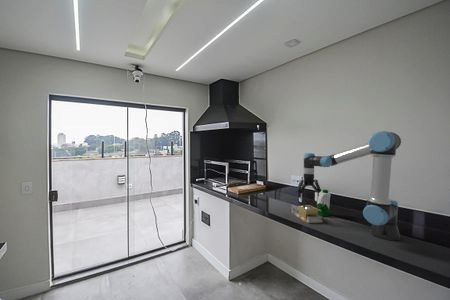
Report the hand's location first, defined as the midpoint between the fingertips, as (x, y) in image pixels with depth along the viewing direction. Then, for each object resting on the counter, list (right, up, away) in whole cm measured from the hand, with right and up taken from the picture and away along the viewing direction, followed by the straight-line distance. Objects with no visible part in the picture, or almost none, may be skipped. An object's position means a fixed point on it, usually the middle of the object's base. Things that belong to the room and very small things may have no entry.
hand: (308, 201), depth 158 cm
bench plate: (0, -13, +1) cm, 13 cm away
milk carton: (+15, -13, +9) cm, 22 cm away
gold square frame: (0, -12, +1) cm, 12 cm away
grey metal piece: (0, -12, +1) cm, 12 cm away
